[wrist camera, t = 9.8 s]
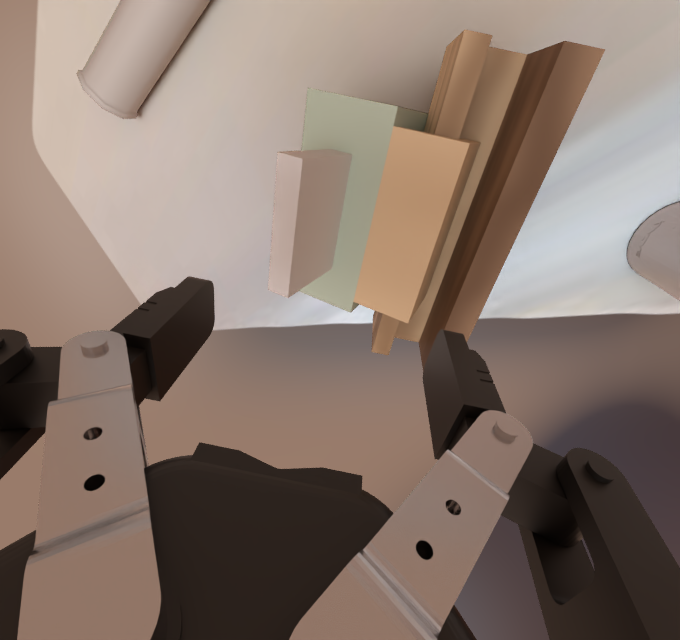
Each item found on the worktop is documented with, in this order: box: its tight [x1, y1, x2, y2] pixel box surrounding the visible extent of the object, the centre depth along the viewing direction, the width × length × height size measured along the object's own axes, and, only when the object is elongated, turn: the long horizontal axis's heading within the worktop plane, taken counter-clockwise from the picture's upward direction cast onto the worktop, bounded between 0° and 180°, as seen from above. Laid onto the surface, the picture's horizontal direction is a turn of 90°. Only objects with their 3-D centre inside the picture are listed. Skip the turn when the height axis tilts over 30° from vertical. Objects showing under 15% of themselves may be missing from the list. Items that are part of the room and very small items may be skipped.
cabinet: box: [268, 88, 481, 323], centre depth 25 cm, size 10×14×16 cm
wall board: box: [372, 30, 605, 371], centre depth 31 cm, size 12×22×20 cm, turn 170°
